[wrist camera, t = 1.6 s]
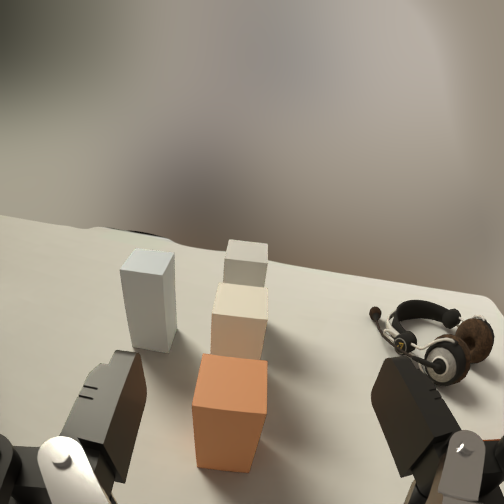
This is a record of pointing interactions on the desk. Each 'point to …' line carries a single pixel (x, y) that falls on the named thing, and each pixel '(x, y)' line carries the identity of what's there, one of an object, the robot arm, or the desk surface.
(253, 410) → the rust block
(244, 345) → the cream block
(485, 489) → the robot arm
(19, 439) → the desk surface
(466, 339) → the headset
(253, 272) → the grey block
